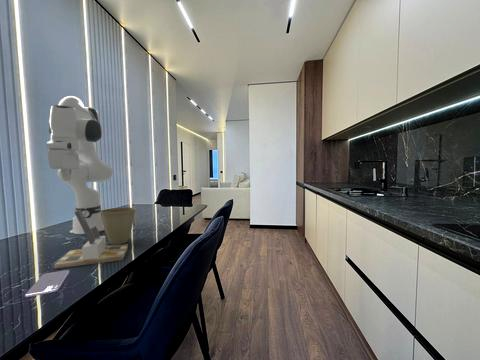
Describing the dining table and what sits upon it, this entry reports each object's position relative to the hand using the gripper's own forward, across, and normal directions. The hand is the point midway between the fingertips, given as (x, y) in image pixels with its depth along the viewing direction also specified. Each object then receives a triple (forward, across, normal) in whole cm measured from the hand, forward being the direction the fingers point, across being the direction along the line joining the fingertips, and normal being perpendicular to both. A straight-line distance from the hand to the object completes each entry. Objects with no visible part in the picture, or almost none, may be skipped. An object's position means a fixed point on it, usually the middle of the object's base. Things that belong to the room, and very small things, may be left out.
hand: (67, 180), depth 92 cm
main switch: (+24, +8, +10) cm, 27 cm away
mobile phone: (+32, +24, +2) cm, 40 cm away
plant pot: (+31, -12, +16) cm, 37 cm away
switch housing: (+30, +5, +10) cm, 32 cm away
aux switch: (+24, +1, +10) cm, 26 cm away
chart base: (+31, +5, +10) cm, 33 cm away
